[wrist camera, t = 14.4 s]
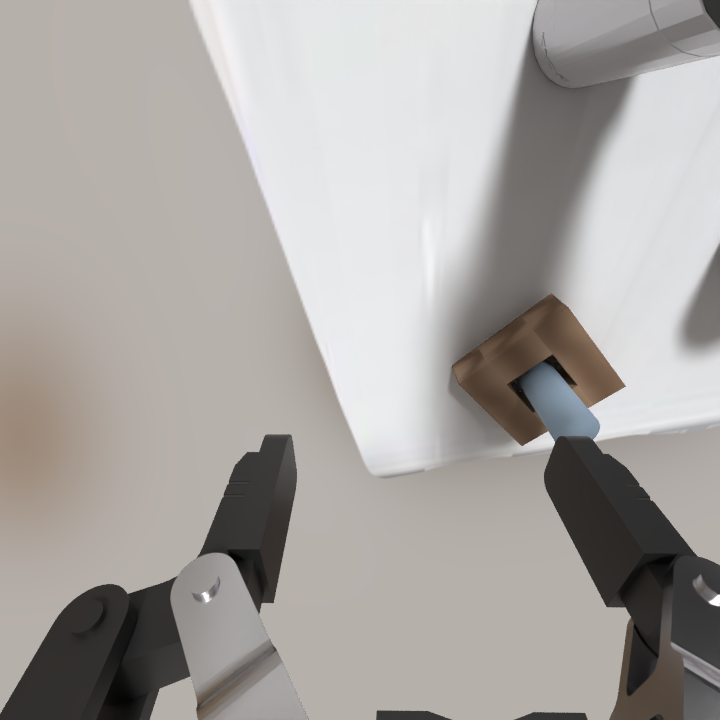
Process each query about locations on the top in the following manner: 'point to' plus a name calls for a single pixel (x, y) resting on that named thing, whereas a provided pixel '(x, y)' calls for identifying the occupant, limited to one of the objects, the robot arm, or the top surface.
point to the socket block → (524, 351)
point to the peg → (557, 403)
